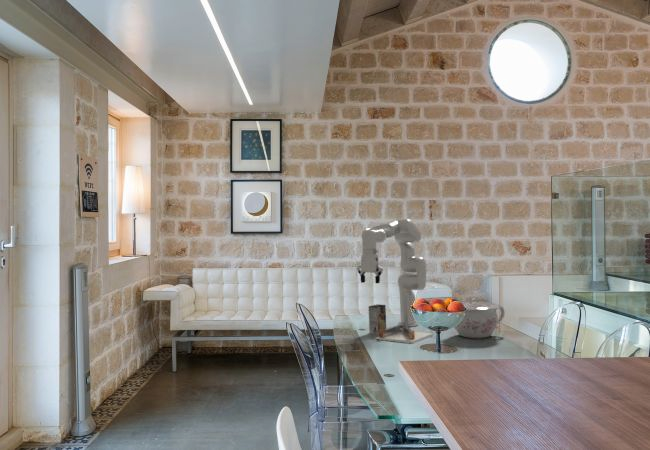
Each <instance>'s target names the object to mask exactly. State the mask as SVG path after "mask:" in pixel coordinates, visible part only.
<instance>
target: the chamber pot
mask: <svg viewBox="0 0 650 450" xmlns="http://www.w3.org/2000/svg"><path fill="white" fill-rule="evenodd" d="M459 303H462V304H463V305H464V307H465V308H466V311H465V312H464V313H465V316H464V318H463V320H462V321H461V322H460V323H459V324H458V325H457V326H455V327H454V326H453V327H454V329H455V331H456V333H457V335H459V336H461V337H463V338H467V339H472V340H473V339H475V340H476V339H477V340H479V339H486V338H489V337H491V336H492V335H493V334H494V332H495V331H496V329H497V327H498V324H499V323H500V322H502V320H503V318H504V317H505V312H506V311H505V308H504V307H503V306H502V305H500V304H496V303H492V302H486V301H480V300H479V299H477V298H472V299H470V301H461V302H459ZM497 310H500V316H499V315H498V314H497ZM498 316H499V317H498Z"/></svg>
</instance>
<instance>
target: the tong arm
mask: <svg viewBox="0 0 650 450" xmlns="http://www.w3.org/2000/svg"><path fill="white" fill-rule="evenodd" d="M414 332H415V330H412V329H411V328H410V326H404V333H405V334H406V335H407V336H408V337H409V339H415V333H414Z"/></svg>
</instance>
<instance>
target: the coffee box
mask: <svg viewBox="0 0 650 450" xmlns="http://www.w3.org/2000/svg"><path fill="white" fill-rule="evenodd" d="M386 308H387V307H386V304H373V305H369V306H368V326H369V327H368V329H369V331H368V332H369V334H370V335H377V334H378V335H377V336H379V330H380V329H387V312H386V311H387V309H386Z"/></svg>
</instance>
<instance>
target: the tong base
mask: <svg viewBox="0 0 650 450" xmlns="http://www.w3.org/2000/svg"><path fill="white" fill-rule="evenodd" d="M404 326H407V323H406V322H403V326H402V328H401V326H400V325H394V326H391V327H386V329H380V330H379V335H378V337H382V338H384V337H386V336H389V335H392V334H395V333H398V332H404Z"/></svg>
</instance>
